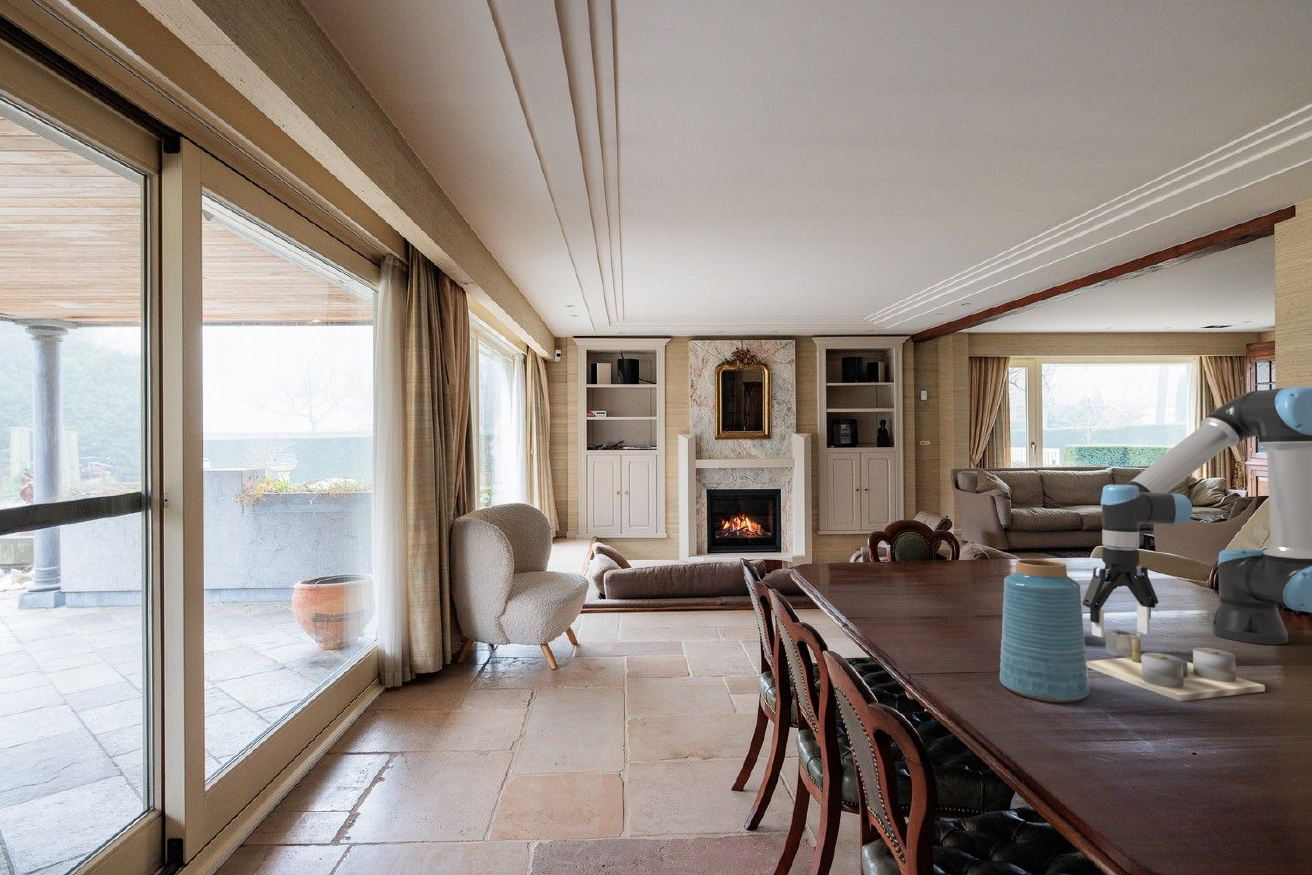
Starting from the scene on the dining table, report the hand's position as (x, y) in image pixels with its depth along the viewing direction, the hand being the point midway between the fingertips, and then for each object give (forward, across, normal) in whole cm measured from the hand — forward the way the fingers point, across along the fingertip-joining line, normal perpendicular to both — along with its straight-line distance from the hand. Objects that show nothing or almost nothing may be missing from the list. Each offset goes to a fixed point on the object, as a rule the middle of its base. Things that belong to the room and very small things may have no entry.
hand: (1120, 634), depth 165 cm
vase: (+5, +38, +16) cm, 41 cm away
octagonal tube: (+5, 0, 0) cm, 5 cm away
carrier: (+5, +6, +17) cm, 19 cm away
